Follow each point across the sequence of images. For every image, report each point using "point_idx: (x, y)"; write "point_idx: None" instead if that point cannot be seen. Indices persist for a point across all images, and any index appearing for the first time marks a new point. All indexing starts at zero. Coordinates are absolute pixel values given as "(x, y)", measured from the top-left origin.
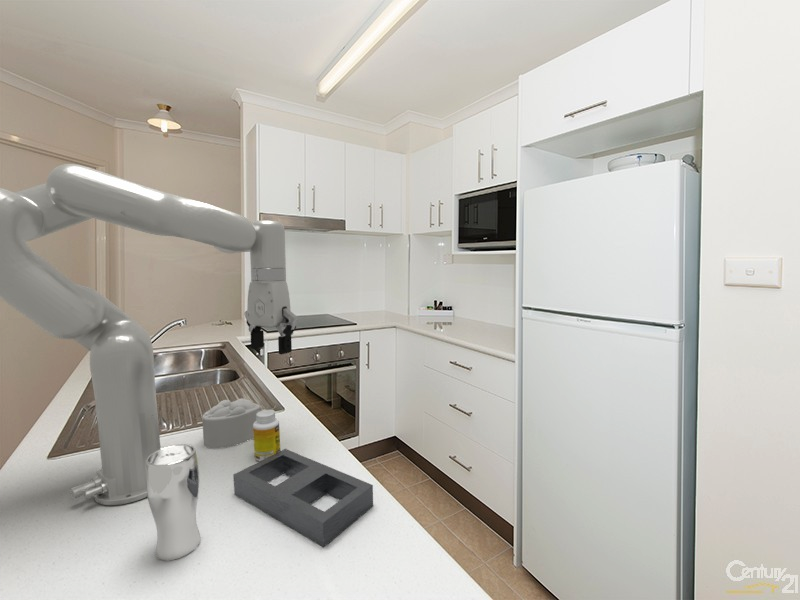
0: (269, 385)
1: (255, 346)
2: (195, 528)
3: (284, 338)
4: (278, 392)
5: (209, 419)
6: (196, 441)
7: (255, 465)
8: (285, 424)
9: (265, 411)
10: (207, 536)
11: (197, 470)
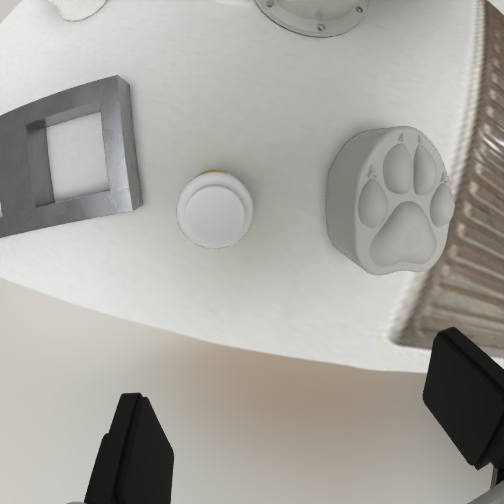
0: None
1: (439, 355)
2: (57, 7)
3: (89, 498)
4: None
5: (391, 131)
6: None
7: (114, 123)
8: (329, 309)
9: (226, 222)
10: (69, 29)
11: None
